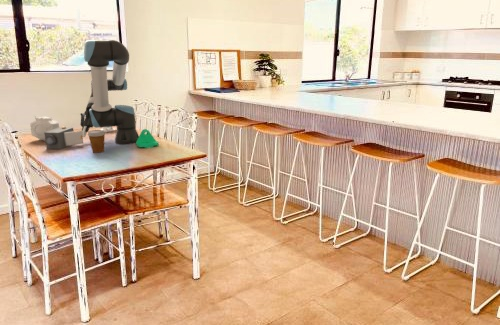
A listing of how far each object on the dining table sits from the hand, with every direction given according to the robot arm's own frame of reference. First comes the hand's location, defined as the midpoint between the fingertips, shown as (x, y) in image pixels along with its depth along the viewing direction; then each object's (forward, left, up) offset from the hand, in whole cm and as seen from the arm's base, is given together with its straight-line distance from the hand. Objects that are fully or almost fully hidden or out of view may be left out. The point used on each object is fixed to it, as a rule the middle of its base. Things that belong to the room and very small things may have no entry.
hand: (83, 135), depth 256 cm
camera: (+25, +14, -5) cm, 29 cm away
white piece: (+30, -30, -5) cm, 43 cm away
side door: (-4, +7, -4) cm, 9 cm away
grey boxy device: (+2, +14, -5) cm, 15 cm away
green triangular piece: (-36, -24, -5) cm, 44 cm away
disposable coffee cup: (-27, +3, -5) cm, 28 cm away
